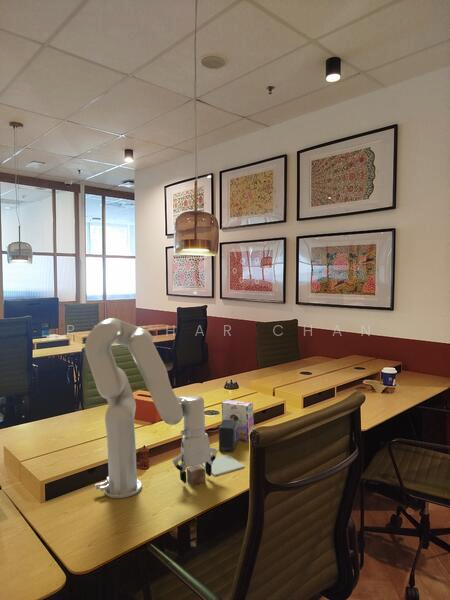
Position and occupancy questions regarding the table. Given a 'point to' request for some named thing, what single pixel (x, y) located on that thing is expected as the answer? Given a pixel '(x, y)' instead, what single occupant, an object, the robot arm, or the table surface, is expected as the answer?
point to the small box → (228, 435)
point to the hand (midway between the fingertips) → (196, 478)
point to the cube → (196, 475)
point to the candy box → (239, 417)
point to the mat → (224, 465)
